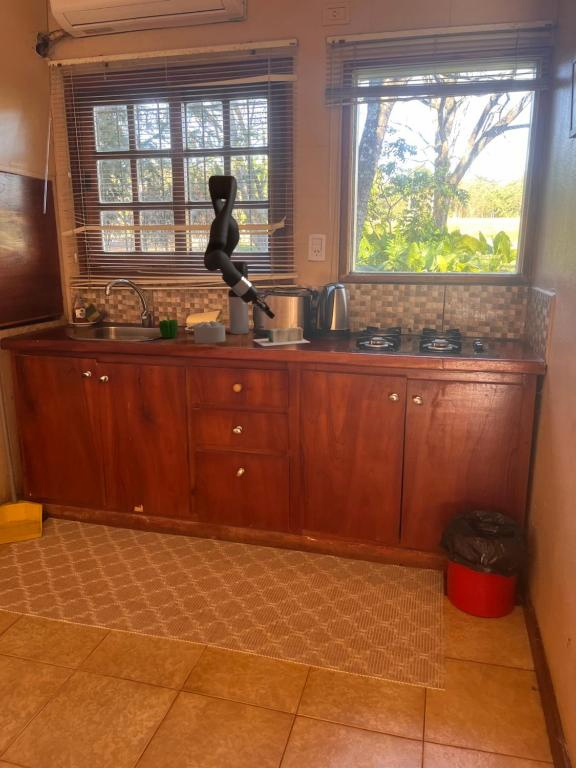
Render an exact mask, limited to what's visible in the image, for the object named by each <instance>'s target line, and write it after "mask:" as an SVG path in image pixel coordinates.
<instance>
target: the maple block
mask: <svg viewBox="0 0 576 768" xmlns="http://www.w3.org/2000/svg"><path fill="white" fill-rule="evenodd" d="M303 331H304V329H303V328H301V327H298V326H297V327H282V328H270V329H267V333H268V334H267V336H268V337H267V339H268V341H270V342H272V343H275V342H288V341H301V340H303V339H304V336H303V334H304V332H303Z"/></svg>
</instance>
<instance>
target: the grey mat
mask: <svg viewBox="0 0 576 768" xmlns="http://www.w3.org/2000/svg"><path fill="white" fill-rule="evenodd" d="M252 341H254V342H256V343H257V344H259V345H260V346H263V347H268V346H280V345H281V346H283V345H295V344H306V343H308V344H309V343H310V341H308V340H306V339H305V338H303V340H301V341H288V342H275V343H272V342H270V341H268V338H258V339H252Z"/></svg>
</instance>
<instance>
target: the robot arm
mask: <svg viewBox="0 0 576 768" xmlns="http://www.w3.org/2000/svg"><path fill="white" fill-rule="evenodd" d="M207 183H208V192H209V196H210V197H209V198H210V200H211V205H212V207H213V212H214V216H215V218H214V219H213V220H212V222H211V224H210V227H209V237H208V242H207V246H206V249H205V252H204V256H203V265H204V267H205V269H206V270H207V271H209V272H215V271H218V270H219V271H220V272H221V273H222V274H221V275H222V276H221V278H222V281H223V282H224V283H226V285H227V286H228V287H230V288H231V289H229V290H228V292H227V295H228V299H227V300H228V320H229V322H228V323H229V333H230V334H233V335H241V334H242V335H243V334H248V333H250V319H249V303H250V302H251V304H252V305H253V306H254V307H255V308H256V309H258V311H260V312H262V313H263V314H265V315H267V316H268V318H269V319H272V320H273V319H274V318H275V316H276V315H275V313H273V311H271V309H270V307H269V305H268V304H267V303H266V301H264V300H263V298H262V297H261V296H257V295H258V294H259V289H258V288H257V287H256V286H255V285H254V284H253V282H251V281H250V280H249V267H248V266H249V265H248V262H246V261H240V260H239V261H236V260H235V261H234V260H233V261H232V260H231V257H232V254H233V253H234V251H235V249H236V247H237V246H238V244H239V242H240V238H241V237H240V227H239V223H238V221H237V220H236V218H234V216H233V215H232V214H233V209H234V206H235V203H236V198H237V194H238V193H237V192H238V182H237V179H236V177H235V176H234V175H226V174H225V175H216V174H215V175H211V176H210V177H209V178H208V182H207ZM223 200H225V202H224V203H223Z"/></svg>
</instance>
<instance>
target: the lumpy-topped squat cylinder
mask: <svg viewBox="0 0 576 768" xmlns="http://www.w3.org/2000/svg"><path fill="white" fill-rule="evenodd" d="M193 336H194V337H193V338H194V343H195V344H198V343H206V344H205V345H213V344H215V345H216V343H222V342H225V341H226V325H224V324H222V323H221V322H219V321H214V320H211V321H201V322H198V323H197V324H196V325H193Z"/></svg>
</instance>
